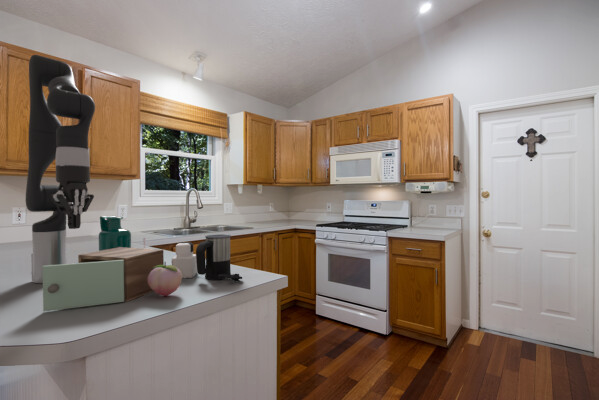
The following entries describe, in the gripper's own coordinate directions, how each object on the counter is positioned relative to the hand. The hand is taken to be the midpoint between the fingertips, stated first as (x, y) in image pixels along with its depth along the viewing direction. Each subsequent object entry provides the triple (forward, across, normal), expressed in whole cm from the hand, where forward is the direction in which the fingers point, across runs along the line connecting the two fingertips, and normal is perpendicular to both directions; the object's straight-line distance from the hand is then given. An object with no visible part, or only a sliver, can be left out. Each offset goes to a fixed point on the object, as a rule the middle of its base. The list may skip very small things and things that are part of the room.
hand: (74, 228), depth 84 cm
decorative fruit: (+21, -6, +23) cm, 31 cm away
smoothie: (+20, -27, +4) cm, 34 cm away
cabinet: (+20, -10, +7) cm, 24 cm away
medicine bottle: (+20, -28, +18) cm, 40 cm away
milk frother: (+21, -24, +34) cm, 47 cm away
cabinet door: (+20, +4, +6) cm, 21 cm away
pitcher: (+20, -26, -6) cm, 33 cm away
